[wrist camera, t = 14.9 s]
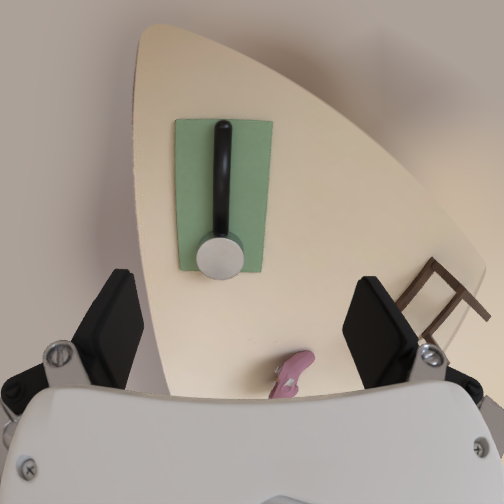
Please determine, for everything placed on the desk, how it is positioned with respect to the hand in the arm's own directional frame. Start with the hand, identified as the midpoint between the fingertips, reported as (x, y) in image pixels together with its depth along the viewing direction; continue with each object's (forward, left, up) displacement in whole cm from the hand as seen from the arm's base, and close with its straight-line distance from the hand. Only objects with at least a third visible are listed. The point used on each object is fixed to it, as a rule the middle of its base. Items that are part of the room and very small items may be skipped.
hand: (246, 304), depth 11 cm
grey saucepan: (+2, -1, -17) cm, 17 cm away
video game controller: (+20, +19, -18) cm, 33 cm away
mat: (+2, -1, -18) cm, 18 cm away
